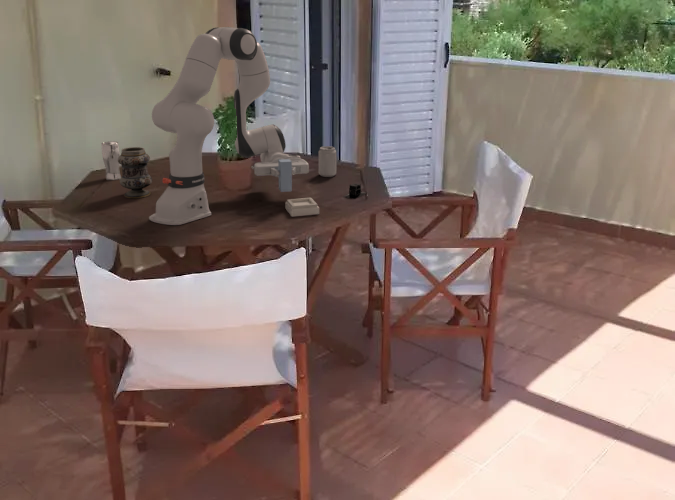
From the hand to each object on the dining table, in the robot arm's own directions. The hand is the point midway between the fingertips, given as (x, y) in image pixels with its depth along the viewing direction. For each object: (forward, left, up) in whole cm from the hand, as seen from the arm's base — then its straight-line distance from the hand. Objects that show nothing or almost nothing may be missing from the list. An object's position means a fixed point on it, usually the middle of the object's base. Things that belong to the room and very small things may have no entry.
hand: (285, 173), depth 268 cm
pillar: (+1, +1, -7) cm, 7 cm away
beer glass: (-1, +85, -13) cm, 86 cm away
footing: (-3, -8, -12) cm, 15 cm away
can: (+46, +9, -13) cm, 49 cm away
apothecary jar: (-15, +59, -13) cm, 62 cm away
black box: (+25, -15, -13) cm, 32 cm away
